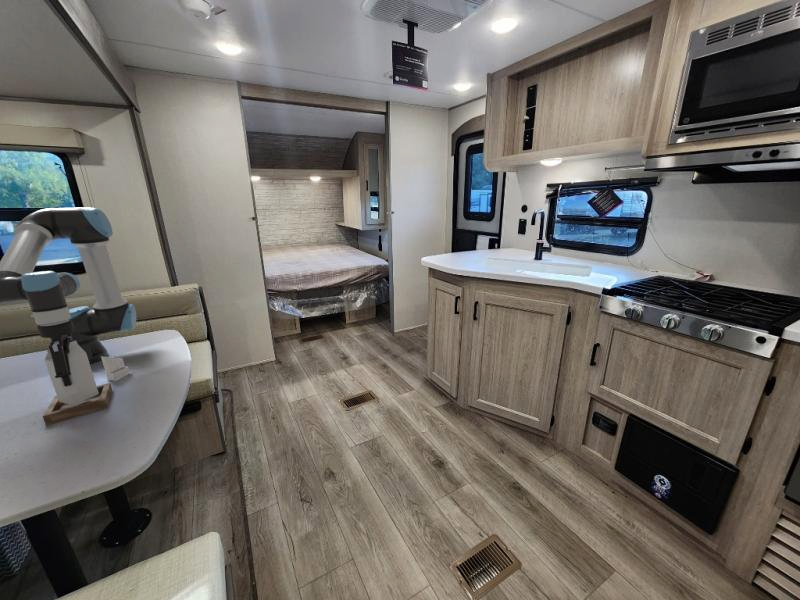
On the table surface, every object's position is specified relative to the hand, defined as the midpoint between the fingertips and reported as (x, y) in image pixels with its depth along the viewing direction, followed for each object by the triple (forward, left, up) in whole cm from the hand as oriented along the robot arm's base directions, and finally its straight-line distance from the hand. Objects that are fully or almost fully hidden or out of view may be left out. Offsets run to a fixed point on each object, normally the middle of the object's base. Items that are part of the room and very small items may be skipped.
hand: (75, 387), depth 104 cm
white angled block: (-19, +8, -7) cm, 22 cm away
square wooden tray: (0, 0, -7) cm, 7 cm away
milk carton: (0, 0, -4) cm, 4 cm away
